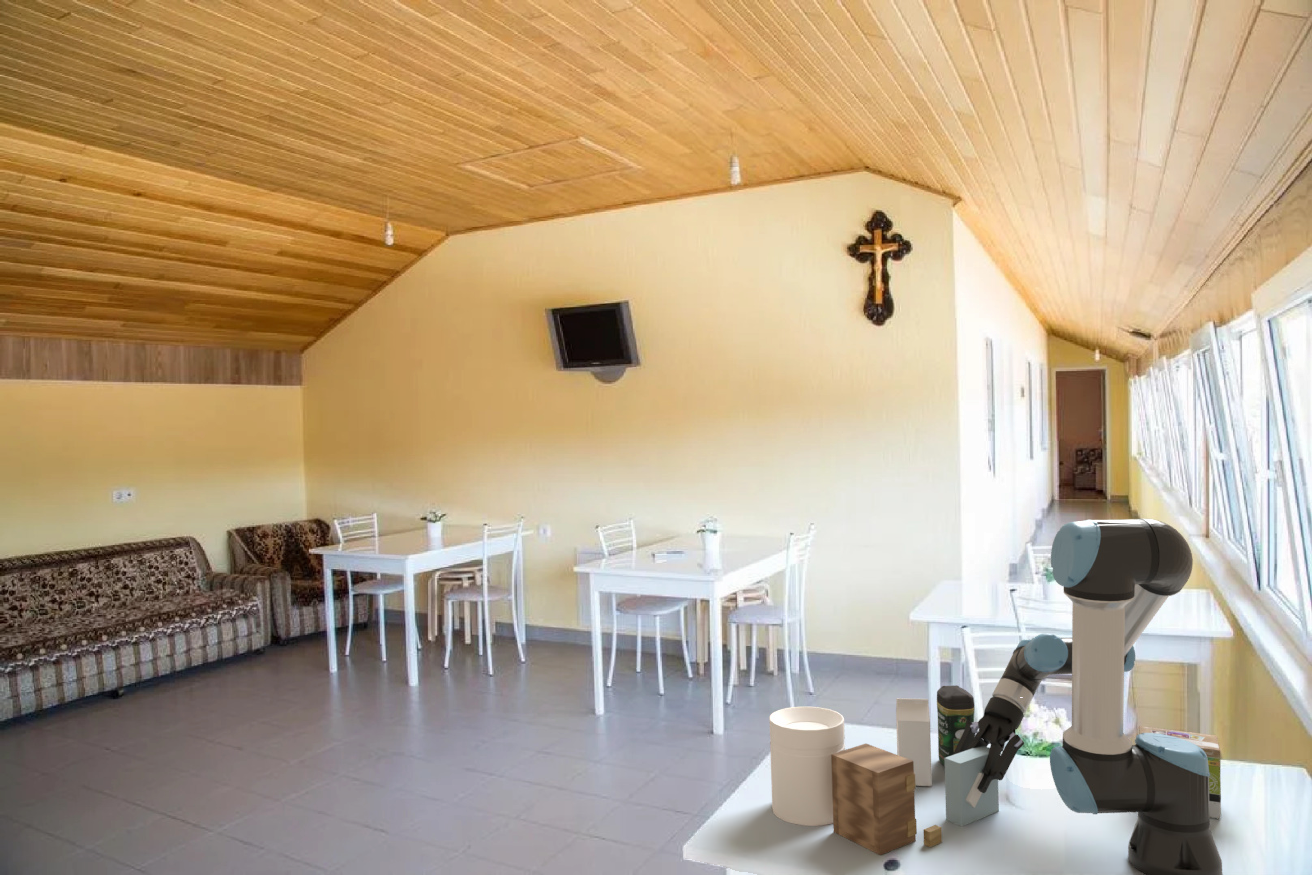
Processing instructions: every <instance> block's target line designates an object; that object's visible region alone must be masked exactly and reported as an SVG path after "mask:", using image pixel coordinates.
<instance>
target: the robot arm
mask: <svg viewBox="0 0 1312 875" xmlns="http://www.w3.org/2000/svg"><path fill="white" fill-rule="evenodd" d="M1052 541H1053V542H1052V546H1051V552H1050V566H1051V568H1052V577H1053V578H1054V581H1055V583H1057V584H1058V585H1059V586H1061V587H1063V594H1064V595H1065V596H1066V597H1067V598H1068V599H1069V600H1070V601H1071V602H1072V613H1071V614H1072V621H1071V623H1072V628H1071V629H1072V633H1071V634H1072V635H1071V636H1072V637H1059V636H1057V635H1055V634H1053V633H1047V632H1046V633H1044V632H1043V633H1041V634H1038V635H1036V636H1035V637H1032V638H1031V639H1022V640H1021V641H1019V643H1018V645H1017V646H1016V647H1015V649H1014V650H1013V652H1012V654H1011V657H1010V660H1009V662H1008V664H1007V666H1006V668H1005V670H1004V671H1003V673H1002V676H1001V678H1000V679H999V681H998V682H997V684H996V686H995V688H994V690H993V692H992V697H990V698H989V700H988V702H987V704H986V706H985V707H984V712H983V715H982V717H981V718H980V719H979V720H978V721H974V722H971V721H970V720H967V721H966V724H965V730H964V732H963V734H962V736H961V738H960V741H959V743H958V745H957V747H956V749H955V751H954V753H953V755H954V754H957V753H960V752H963V751H966V750H969V749H972V748H977V747H981V746H985V747H988V746H989V744H990V747H989V748H990V750H989V754H988V757H987V761H986V764H985V768H984V770H982V772H983V773H984V775H983V774H982V773H980V772H979V774H978V776H977V778H976V780H975V782H974V784H973V786H972V788H971V790H970V792H969V794H968V796H967V798H966V801H967V802H968V803H969V804H970V805H971V806H972V807H974V808H975V806H976V804H977V802H978V800H979V798H980V796H981V794H982V793H985V792H986V791H987V789H988V787H989V785H990V783H991V781H992V780H994V779H998V781H1002V780H1003V779H1004V778H1005V776H1006V774H1007V772H1008V770H1009V768H1010V766H1011V765H1012V764H1011V763H1012V762H1013V760H1014V758H1015V757H1016V754H1017V753H1018V752H1019V750H1020V749H1022V747H1023V746H1024V745H1025V742H1024V740H1023V738H1021V737H1020V736H1019V734H1016V731H1017V730H1018V729H1019V727H1020V726H1021V723H1022V721H1023V719H1024V715H1025V714H1026V712H1027V710H1028V708H1029V706H1030V705H1031V703H1032V700H1033V698H1034V696H1035V694H1036V692H1037V690H1038V688H1039V686H1040V684H1041V683H1042V681H1043V680H1044V679H1046V678H1048V677H1049V676H1052V675H1053V676H1054V675H1071V726H1069V727H1068V728H1067V729H1065V730H1064V731H1063V733H1062V746H1061V745H1058V746H1054V747H1052V749H1051V750H1050V752H1049V753H1050V754H1049V766H1050V772H1051V775H1052V776H1051V777H1052V779H1053V782H1054V785H1055V788H1056V790H1057V793H1058V795H1059V797H1060V799H1061V800H1062V802H1063V803H1064V805H1065V806H1066V807H1067V808H1068V810H1070V811H1072V812H1074V813H1077V814H1092V815H1098V814H1122V813H1124V814H1125V813H1137V819H1136V823H1135V825H1134V828H1133V831H1132V833H1131V837H1130V839H1129V841H1128V844H1127V845H1128V846H1127V857H1128V861H1129V862H1130V863H1131V865H1132V866H1133V867H1134V868H1136V869H1137V870H1138V871H1140V872H1141V873H1144V874H1146V875H1223V861H1222V858H1221V856H1220V853H1219V850H1218V846H1217V845H1216V841H1215V839H1214V836H1213V834H1212V831H1211V824H1210V821H1211V820H1210V819H1211V818H1210V809H1209V776H1210V773H1209V766H1208V759H1207V755H1206V753H1205V752H1204V751H1203V750H1202V749H1201V748H1200V747H1199V746H1197V745H1195V744H1193V743H1191V742H1189V741H1186V740H1183V739H1180V738H1177V737H1173V736H1169V735H1164V734H1157V733H1141V734H1139V733H1138V734H1137V735H1136V736H1135V739H1134V744H1133V741H1132V740H1131V739H1130V738H1129V737H1128V736H1127V735H1126V734H1125V732H1124V714H1125V713H1124V705H1125V704H1124V701H1125V700H1124V697H1125V696H1124V694H1125V689H1124V688H1125V673H1127V672H1130V671H1132V670H1133V668H1134V667H1135V661H1136V651H1135V647H1134V644H1135V643H1136V642H1137V640H1138V639H1139V637H1141V635H1142V634H1143V632H1144V631H1145V630H1146V628H1147V627H1148V625H1149V624H1150V623H1151V622H1152V620H1153V618H1154V617H1155V616H1156V615H1157V613H1158V611H1160V610H1161V608H1162V606H1163V605H1164V603H1165V602H1166V601H1167V599H1168V598H1169V597H1172V596H1174V595H1177V594H1178V593H1180V592H1181V590H1183V588H1184V587H1185V586H1186V584H1187V583H1188V581H1189V579H1190V577H1191V575H1192V571H1193V565H1194V560H1193V558H1194V557H1193V553H1192V551H1191V547H1190V545H1189V543H1188V541H1187V540H1186V539H1185V537H1184V536H1183V535H1182V534H1181V533H1180V532H1179V531H1178V530H1177V529H1176V528H1175V527H1173V526H1171V525H1170V524H1168V523H1166V522H1163V521H1160V520H1158V519H1153V518H1132V519H1129V518H1128V519H1085V520H1081V521H1080V520H1079V521H1071V522H1067V523H1065V524H1064V525H1062V526H1061V527H1060V529H1059V530H1058V531H1057V532H1056V534H1055V536H1054V538H1053V540H1052ZM1020 697H1023V698H1020ZM974 737H975V739H974ZM973 739H974V740H973Z"/></svg>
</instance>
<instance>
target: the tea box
mask: <svg viewBox="0 0 1312 875" xmlns="http://www.w3.org/2000/svg"><path fill="white" fill-rule="evenodd" d="M1141 733H1157V734H1164V735H1169V736H1173V737H1177V738H1180V739H1183V740H1186V741H1189V742H1191V743H1193V744H1195V745H1197V746H1199V747H1200V748H1201V749H1202V750H1203V751H1204V752H1205V753H1206V755H1207V759H1208V766H1209V773H1210V776H1209V809H1210V819H1215V818H1218V819H1217V820H1220V819H1221V813H1222V812H1221V811H1222V808H1221V806H1222V793H1221V790H1222V787H1221V784H1222V782H1221V762H1222V761H1221V749H1220V748H1221V747H1220V745H1219V744H1220V743H1219V740H1218V739H1219V738H1218V735H1216V734H1208V733H1201V732H1199V733H1198V732H1190V731H1183V730H1176V729H1175V730H1174V729H1168V728H1167V729H1166V728H1159V727H1151V726H1143V725H1139V727H1138V734H1141Z"/></svg>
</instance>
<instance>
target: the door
mask: <svg viewBox="0 0 1312 875" xmlns="http://www.w3.org/2000/svg"><path fill="white" fill-rule="evenodd" d="M989 750H990V747H988V746H987V747H985V746H981V747H977V748H972V749H969V750H966V751H963V752H960V753H957V754H954V755H951V756H949V757H946V758H944V760H945V766H944V785H945V786H944V788H945V789H944V790H945V819H946V820H945V821H948V822H951V823H952V824H955V825H958V826H961V827H964V826H966V825H969V824H972V823H973V822H976V821H979V820H981V819H984V818H985V817H988V816H990V815H993V814H996V813H998V812H999V811H1000V804H999V803H1000V802H999V801H1000V800H999V797H1000V796H999V780H998V779H994V780H992V781H991V783H990V785H989V787H988V789H987V791H986V792H985V793H982V794H981V796H980V798H979V800H978V802H977V804H976V806H975V808H974V807H972V806H971V805H970V804H969V803H968V802H967V801H966V798H967V796H968V794H969V792H970V790H971V788H972V786H973V784H974V782H975V780H976V778H977V776H978V774H979V772H980V773H982V774H983V775H984V773H983V772H982V770H984V768H985V764H986V761H987V757H988V754H989Z"/></svg>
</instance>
